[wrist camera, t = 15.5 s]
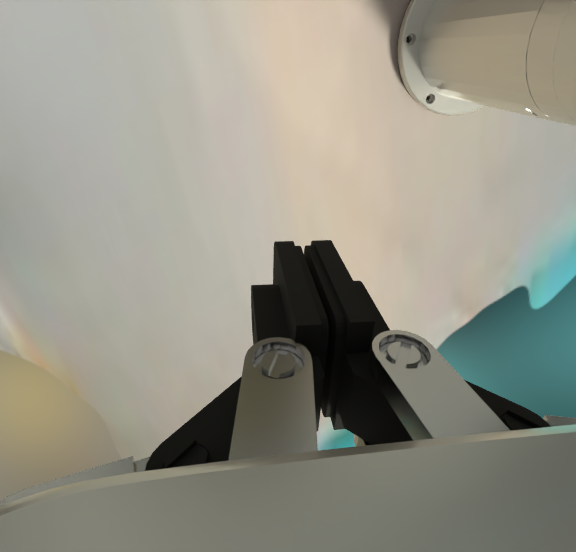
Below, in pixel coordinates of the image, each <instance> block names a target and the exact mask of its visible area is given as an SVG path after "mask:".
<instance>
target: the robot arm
mask: <svg viewBox="0 0 576 552" xmlns="http://www.w3.org/2000/svg"><path fill="white" fill-rule="evenodd" d="M407 36H409V39H410V40H409V42H408V43H407V42H406V38H407ZM398 63H399V69H400V74H401V77H402V80H403V83H404V85H405V87H406V89H407V90H408V92H409V94H410V95H411V96H412V97H413V99H414V100H415V101H416V102H417V103H418V104H420V105H421V106H423V107H424V108H426V109H428V110H430V111H433V112H435V113H439V114H444V115H463V114H467V113H471V112H474V111H476V110H478V109H481V108H483V107H485V106H489V107H494V108H498V109H502V110H507V111H511V112H515V113H520V114H524V115H529V116H533V117H537V118H542V119H546V120H550V121H555V122H559V123H565V124H570V125H574V126H576V0H411V2H410V4H409V6H408V8H407V10H406V12H405V15H404V18H403V22H402V25H401V28H400V34H399V40H398ZM427 96H429V98H428V100H427V101H426V98H427ZM251 309H252V332H253V344H254V345H253V346H252V347H251V348H250V349H249V350H248V351H247V354H246V356H245V360H244V366H243V372H242V377H240V378H239V379H238V380H237V381H236V382H234V383H233V384H232V385H231V386H230V387H228V388H227V389H226V390H225V391H224V392H222V393H221V394H220V395H219V396H218V397H216V398H215V399H214V400H213V401H212V402H210V403H209V404H208V405H207V406H206V407H204V408H203V409H202V410H201V411H200V412H198V413H197V414H196V415H195V416H194V417H192V418H191V419H190V420H189V421H188V422H186V423H185V424H184V425H183V426H182V427H180V428H179V429H178V430H177V431H176V432H174V433H173V434H172V435H171V436H170V437H168V438H167V439H166V440H165V441H164V442H162V443H161V444H160V445H159V447H158V448H157V449H156V450H155V451H154V452H153V453H152V455H151V457H148V458H144V459H141V460H138V461H135V460H134V457H133V456H131V457H128V458H125V459H122V460H118V461H115V462H112V463H109V464H105V465H102V466H98V467H95V468H92V469H88V470H85V471H82V472H79V473H75V474H72V475H69V476H66V477H62V478H59V479H55V480H53V481H49V482H45V483H43V484H39V485H36V486H32V487H29V488H26V489H23V490H21V491H18V492H16V493H14V494H12V495H9V496H7V497H6V498H4V499H3V500H2V501H0V552H576V418H567V417H559V416H550V415H545V416H544V418H543V419H542V418H541V417H540V416H538V415H537V414H535V413H534V412H532V411H530V410H528V409H526V408H524V407H522V406H520V405H518V404H516V403H513V402H511V401H509V400H507V399H505V398H503V397H500V396H498V395H496V394H494V393H492V392H489V391H487V390H485V389H483V388H481V387H479V386H476V385H474V384H472V383H470V382H468V381H465V380H464V379H462V377H461V376H460V375H459V374H458V373H457V372H456V371H455V370H454V369H453V367H452V366H451V365H450V364H449V363H448V362H447V361H446V360H445V359H444V358H443V357H442V355H440V353H439V352H438V351H437V350H436V349H435V348H434V347H433V346H432V345H431V344H430V343H429V342H428V341H427V340H425V339H424V338H422V337H420V336H418V335H416V334H413V333H410V332H407V331H401V330H390V329H389V328H388V326H387V324H386V323H385V321H384V319H383V317H382V316H381V314H380V312H379V311H378V309H377V307H376V305H375V304H374V302H373V300H372V298H371V297H370V295H369V293H368V292H367V290H366V288H365V286H364V285H363V283H362V282H361V281H353V280H352V278H351V276H350V274H349V272H348V270H347V269H346V267H345V265H344V263H343V261H342V259H341V258H340V256H339V254H338V252H337V250H336V248H335V247H334V245H333V243H332V241H331V240H323V241H312V242H311V246H305V249H304V254H303V251H302V248H301V246H295V245H294V242H293V241H285V242H275V243H274V268H273V284H271V285H251ZM321 409H322V413H323V416H324V417H331V421H332V424H333V428H334V430H338V429H347V430H349V431H350V432H352V433H353V434H354V442H355V446H356V447H349V448H339V449H330V450H321V451H318V446H317V431H318V427H319V418H320V410H321Z"/></svg>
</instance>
